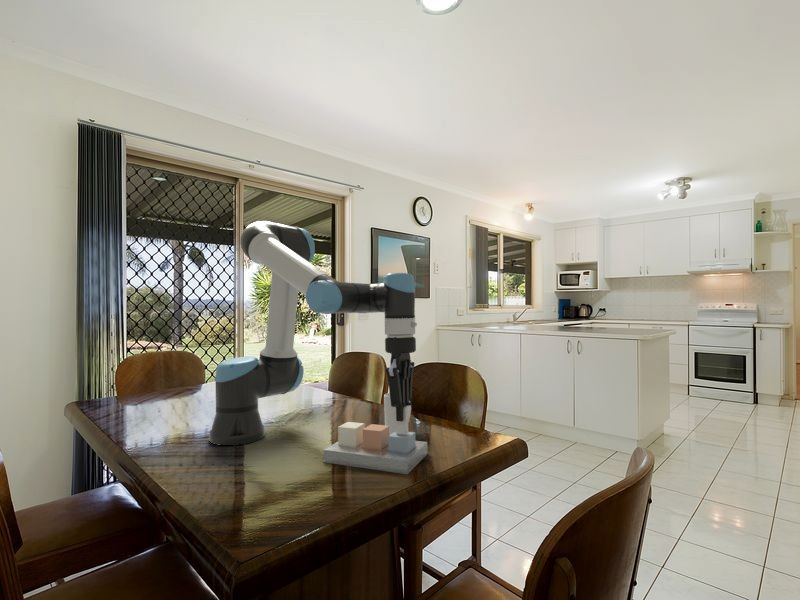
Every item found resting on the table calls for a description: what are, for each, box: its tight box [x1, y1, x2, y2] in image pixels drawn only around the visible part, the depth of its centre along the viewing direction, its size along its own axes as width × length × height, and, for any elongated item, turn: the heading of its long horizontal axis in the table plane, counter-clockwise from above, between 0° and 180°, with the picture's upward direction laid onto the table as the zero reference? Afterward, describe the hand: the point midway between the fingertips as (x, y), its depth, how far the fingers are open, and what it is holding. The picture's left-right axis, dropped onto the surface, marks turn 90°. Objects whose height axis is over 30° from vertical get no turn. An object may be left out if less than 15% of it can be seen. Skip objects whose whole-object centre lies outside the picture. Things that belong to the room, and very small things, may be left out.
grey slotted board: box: [322, 440, 428, 475], centre depth 101 cm, size 22×14×3 cm, turn 68°
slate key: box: [389, 431, 416, 454], centre depth 99 cm, size 5×5×5 cm
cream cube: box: [337, 421, 366, 447], centre depth 104 cm, size 5×5×5 cm
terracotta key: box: [363, 423, 389, 451], centre depth 102 cm, size 5×5×5 cm
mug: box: [383, 392, 412, 436], centre depth 121 cm, size 10×7×12 cm, turn 137°
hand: (402, 433), depth 99 cm, fingers closed
